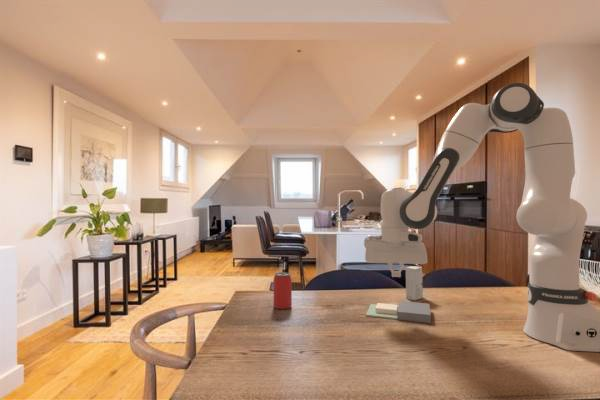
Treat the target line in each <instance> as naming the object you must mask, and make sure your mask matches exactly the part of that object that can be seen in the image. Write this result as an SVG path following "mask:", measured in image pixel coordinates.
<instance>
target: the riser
mask: <svg viewBox="0 0 600 400" xmlns="http://www.w3.org/2000/svg"><path fill="white" fill-rule="evenodd" d="M397 305H398V310H397V319H396V320H398V321H399V320H400V321H410V322H418V323H427V324H431V323H432V319H431V318H432V317H431V316H432V315H431V308H430V307H431V306H430V303H423V302H413V301H403V300H402V301H401V300H399V301H398V304H397Z"/></svg>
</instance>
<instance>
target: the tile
mask: <svg viewBox="0 0 600 400" xmlns="http://www.w3.org/2000/svg"><path fill="white" fill-rule="evenodd" d="M398 305H399V304H393V303H382V302H377V303H376V308H375V312H376V313H386V314H395V315H397V310H398Z"/></svg>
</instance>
